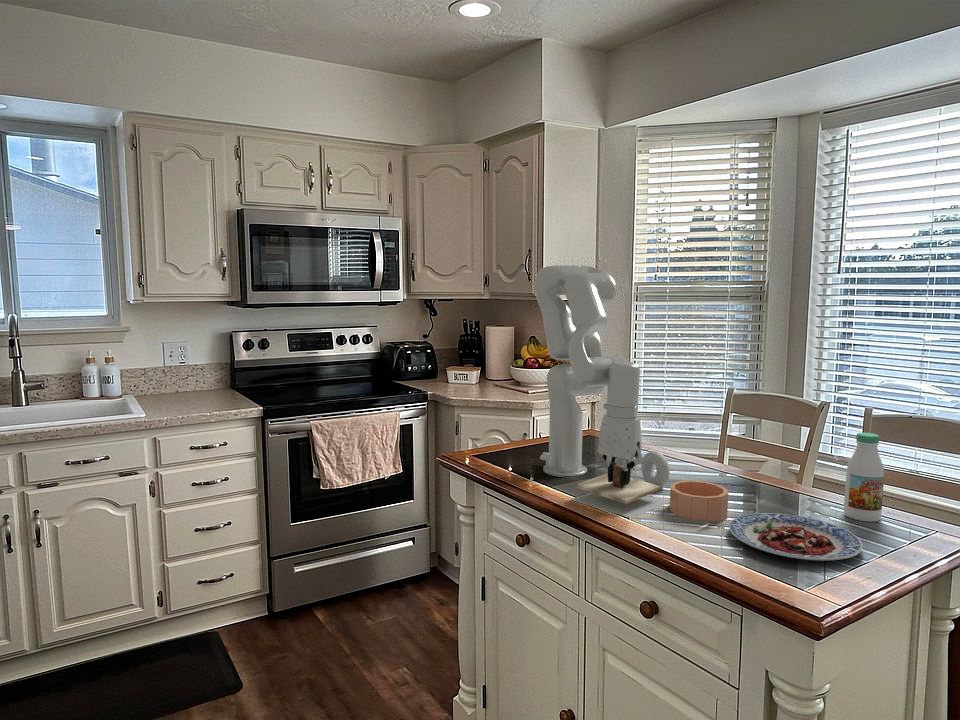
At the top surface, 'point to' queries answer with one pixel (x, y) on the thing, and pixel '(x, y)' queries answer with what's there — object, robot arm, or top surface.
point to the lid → (618, 487)
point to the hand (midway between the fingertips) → (618, 482)
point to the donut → (661, 468)
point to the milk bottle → (864, 480)
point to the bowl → (699, 500)
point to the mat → (621, 504)
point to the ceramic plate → (795, 536)
